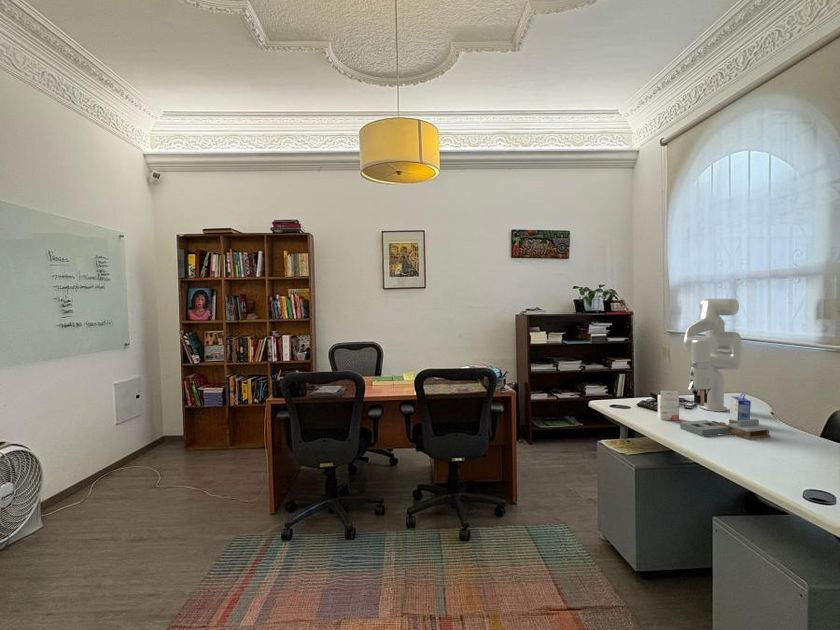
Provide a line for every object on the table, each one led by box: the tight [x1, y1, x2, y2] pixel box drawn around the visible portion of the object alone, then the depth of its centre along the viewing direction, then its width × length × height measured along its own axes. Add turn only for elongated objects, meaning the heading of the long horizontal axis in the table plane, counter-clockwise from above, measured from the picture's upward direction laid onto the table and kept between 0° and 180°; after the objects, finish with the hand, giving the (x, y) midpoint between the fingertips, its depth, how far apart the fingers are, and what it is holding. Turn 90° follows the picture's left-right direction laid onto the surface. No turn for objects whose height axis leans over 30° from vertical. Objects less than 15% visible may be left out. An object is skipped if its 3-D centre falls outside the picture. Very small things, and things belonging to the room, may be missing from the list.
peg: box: [696, 389, 704, 406], centre depth 206 cm, size 3×3×8 cm
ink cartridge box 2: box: [729, 392, 752, 421], centre depth 207 cm, size 10×6×14 cm, turn 163°
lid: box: [727, 418, 769, 432], centre depth 190 cm, size 9×11×3 cm
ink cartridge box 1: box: [657, 390, 680, 421], centre depth 216 cm, size 9×5×15 cm, turn 76°
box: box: [711, 418, 771, 440], centre depth 194 cm, size 18×12×3 cm, turn 12°
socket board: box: [679, 419, 730, 437], centre depth 196 cm, size 12×14×3 cm
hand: (700, 402), depth 207 cm, fingers closed on peg, 3 cm apart
